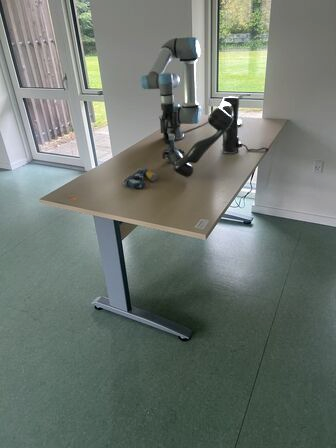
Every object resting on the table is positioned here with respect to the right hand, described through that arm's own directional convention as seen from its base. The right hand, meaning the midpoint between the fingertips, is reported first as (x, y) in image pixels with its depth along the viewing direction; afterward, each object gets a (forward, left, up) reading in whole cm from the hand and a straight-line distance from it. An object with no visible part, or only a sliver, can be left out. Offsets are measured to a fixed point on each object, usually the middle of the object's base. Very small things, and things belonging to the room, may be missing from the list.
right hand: (170, 149), depth 208 cm
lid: (0, +3, +10) cm, 10 cm away
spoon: (-60, -47, -6) cm, 76 cm away
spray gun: (+23, +28, -6) cm, 36 cm away
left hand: (0, +3, +6) cm, 6 cm away
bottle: (0, +3, -6) cm, 7 cm away
